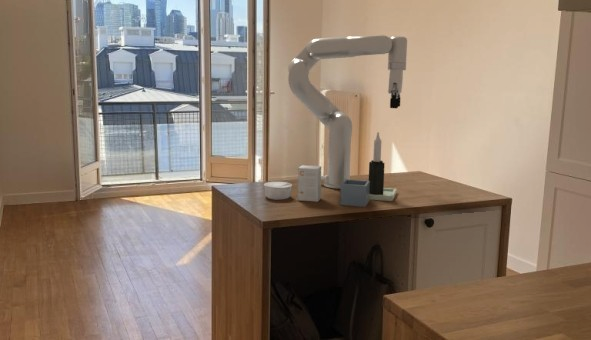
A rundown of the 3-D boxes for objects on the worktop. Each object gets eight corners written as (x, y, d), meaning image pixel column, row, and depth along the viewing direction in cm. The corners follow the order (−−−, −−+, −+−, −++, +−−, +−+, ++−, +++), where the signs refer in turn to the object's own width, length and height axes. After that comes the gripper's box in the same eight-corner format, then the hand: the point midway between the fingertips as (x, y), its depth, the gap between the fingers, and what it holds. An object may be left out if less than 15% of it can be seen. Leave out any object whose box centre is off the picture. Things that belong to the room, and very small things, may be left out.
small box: (321, 198, 237) (321, 166, 235) (317, 202, 231) (318, 168, 229) (301, 197, 239) (301, 164, 237) (297, 200, 233) (297, 167, 231)
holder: (340, 204, 227) (340, 184, 226) (344, 199, 236) (345, 179, 235) (365, 206, 225) (366, 185, 223) (369, 201, 234) (369, 180, 233)
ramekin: (292, 200, 234) (292, 187, 233) (263, 200, 233) (264, 187, 232) (290, 194, 245) (291, 181, 244) (263, 194, 244) (263, 181, 243)
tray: (354, 198, 238) (354, 193, 238) (360, 190, 252) (360, 186, 252) (392, 201, 234) (392, 196, 234) (396, 193, 249) (396, 188, 248)
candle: (373, 195, 240) (375, 133, 235) (367, 192, 245) (369, 131, 240) (384, 194, 242) (387, 132, 237) (377, 191, 247) (380, 131, 242)
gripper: (390, 66, 262) (388, 105, 265) (385, 66, 245) (383, 108, 249) (407, 66, 260) (405, 106, 263) (404, 67, 244) (402, 109, 247)
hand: (395, 107), depth 256 cm, fingers open, 9 cm apart
